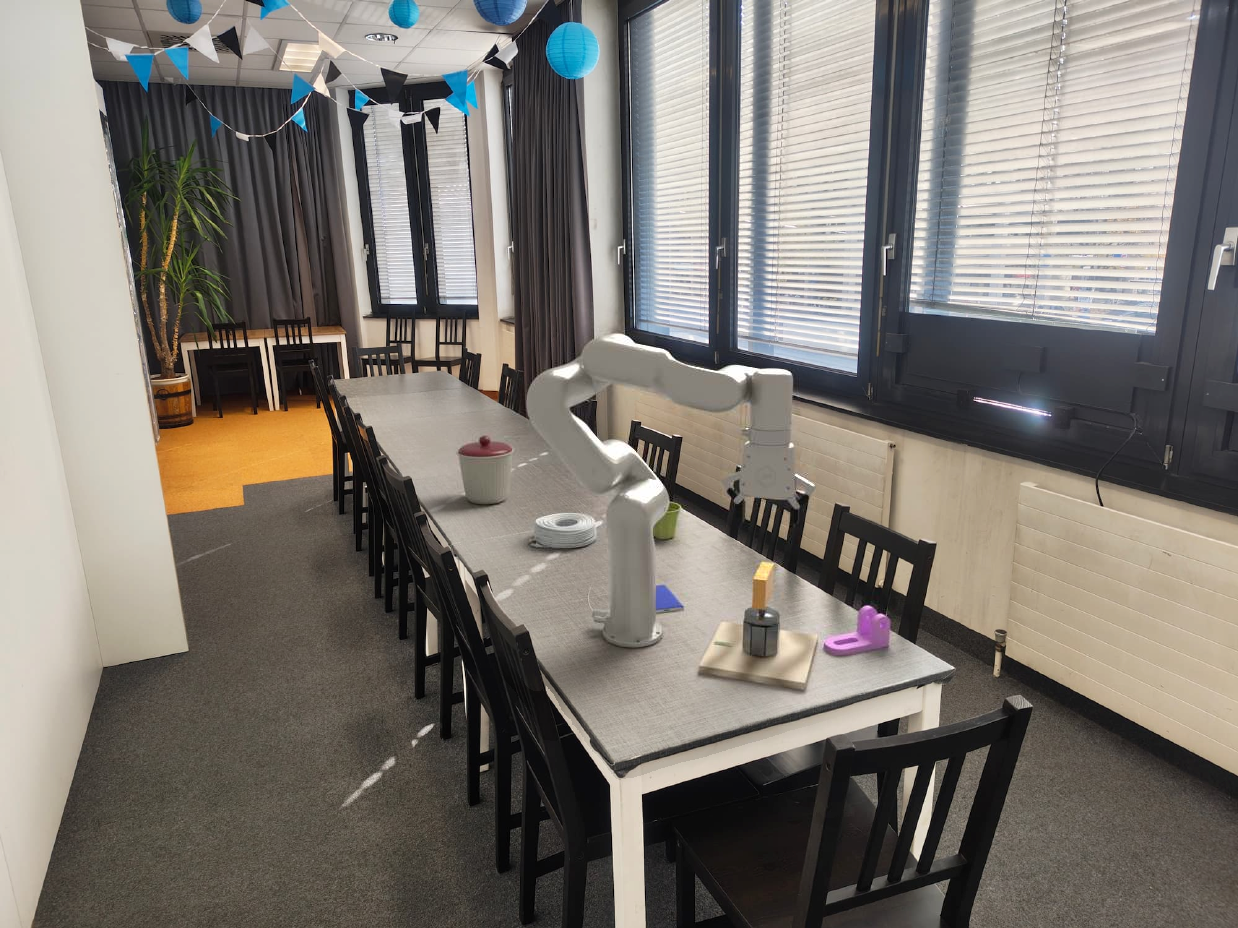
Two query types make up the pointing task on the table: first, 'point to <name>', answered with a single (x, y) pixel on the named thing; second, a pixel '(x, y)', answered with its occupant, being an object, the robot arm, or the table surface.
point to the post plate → (760, 658)
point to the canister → (486, 470)
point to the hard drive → (666, 600)
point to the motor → (761, 616)
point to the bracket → (862, 634)
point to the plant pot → (667, 522)
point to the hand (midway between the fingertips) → (766, 524)
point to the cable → (564, 530)
